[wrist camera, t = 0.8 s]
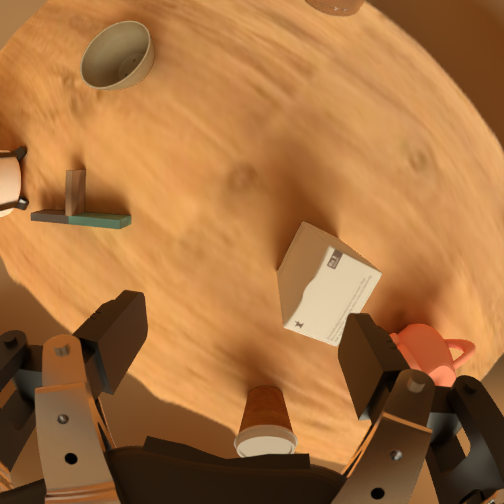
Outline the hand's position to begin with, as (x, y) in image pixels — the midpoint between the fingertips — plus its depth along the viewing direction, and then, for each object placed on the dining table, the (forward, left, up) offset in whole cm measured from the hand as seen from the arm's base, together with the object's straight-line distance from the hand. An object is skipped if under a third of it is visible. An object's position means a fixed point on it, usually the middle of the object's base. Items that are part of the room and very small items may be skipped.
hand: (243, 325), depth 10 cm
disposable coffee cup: (+31, +5, -26) cm, 41 cm away
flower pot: (-20, -19, -26) cm, 38 cm away
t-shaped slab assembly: (-2, -26, -26) cm, 37 cm away
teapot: (+21, +28, -26) cm, 44 cm away
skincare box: (+4, +7, -26) cm, 27 cm away
